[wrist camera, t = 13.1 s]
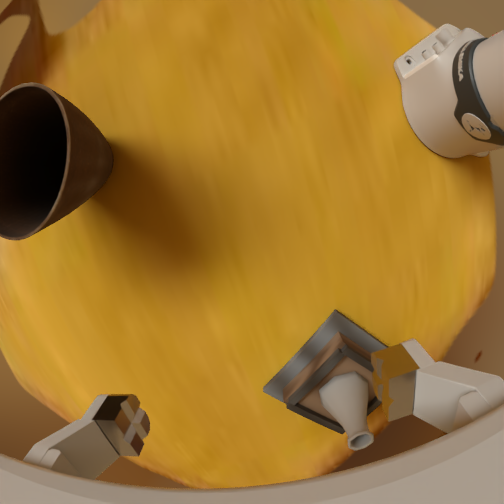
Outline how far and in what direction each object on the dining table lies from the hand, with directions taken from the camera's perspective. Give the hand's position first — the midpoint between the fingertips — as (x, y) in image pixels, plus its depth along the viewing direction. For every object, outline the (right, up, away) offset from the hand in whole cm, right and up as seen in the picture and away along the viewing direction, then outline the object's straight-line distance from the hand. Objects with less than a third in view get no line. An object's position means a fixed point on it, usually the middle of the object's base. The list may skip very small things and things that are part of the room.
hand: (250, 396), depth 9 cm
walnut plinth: (+13, -14, +33) cm, 38 cm away
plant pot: (-21, +17, +27) cm, 38 cm away
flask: (+13, -15, +29) cm, 35 cm away
